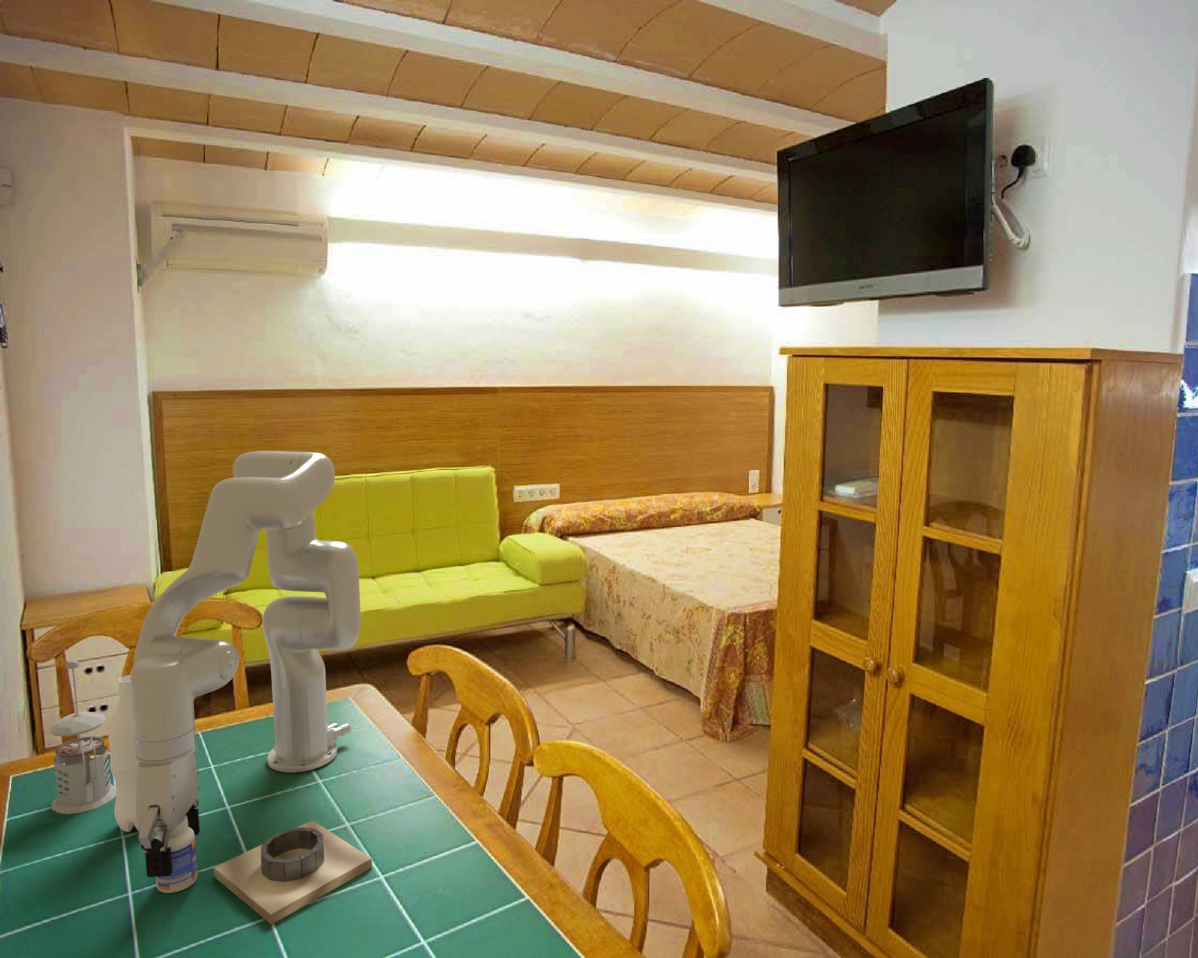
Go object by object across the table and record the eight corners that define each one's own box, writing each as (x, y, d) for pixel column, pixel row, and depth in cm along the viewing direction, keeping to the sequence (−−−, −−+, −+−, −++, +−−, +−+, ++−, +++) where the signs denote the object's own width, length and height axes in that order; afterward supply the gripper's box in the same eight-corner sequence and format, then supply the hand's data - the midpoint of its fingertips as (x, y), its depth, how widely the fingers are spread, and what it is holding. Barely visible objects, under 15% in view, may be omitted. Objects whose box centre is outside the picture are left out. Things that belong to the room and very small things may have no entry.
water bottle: (144, 838, 127) (131, 688, 124) (105, 833, 129) (91, 685, 125) (176, 814, 134) (165, 671, 131) (139, 809, 136) (127, 668, 132)
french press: (109, 777, 146) (97, 645, 143) (127, 802, 138) (115, 663, 134) (45, 797, 139) (31, 660, 136) (60, 825, 131) (46, 679, 128)
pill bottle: (204, 881, 117) (199, 819, 116) (164, 899, 113) (158, 835, 112) (189, 865, 121) (185, 805, 119) (150, 882, 117) (145, 820, 115)
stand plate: (312, 828, 130) (312, 820, 130) (371, 867, 120) (371, 858, 120) (214, 876, 118) (213, 867, 118) (271, 924, 108) (270, 914, 108)
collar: (304, 838, 125) (303, 820, 125) (335, 860, 120) (334, 841, 119) (250, 865, 118) (249, 846, 118) (281, 889, 113) (280, 869, 113)
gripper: (164, 717, 122) (172, 822, 124) (107, 774, 105) (118, 894, 107) (216, 715, 123) (223, 819, 125) (168, 771, 106) (177, 891, 108)
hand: (174, 854), depth 116 cm, fingers open, 9 cm apart
